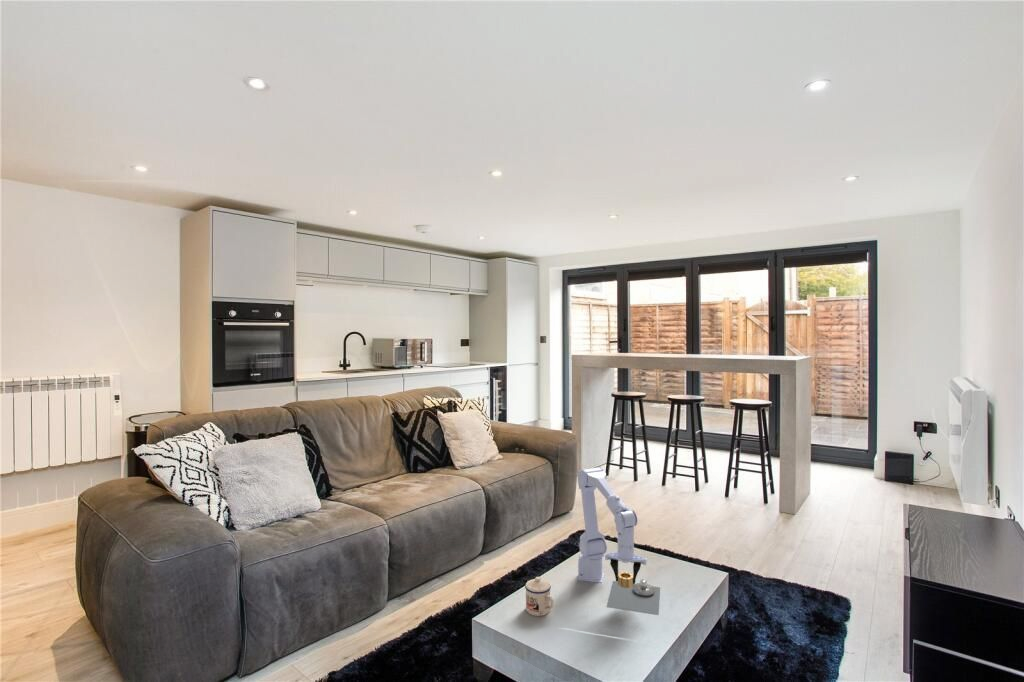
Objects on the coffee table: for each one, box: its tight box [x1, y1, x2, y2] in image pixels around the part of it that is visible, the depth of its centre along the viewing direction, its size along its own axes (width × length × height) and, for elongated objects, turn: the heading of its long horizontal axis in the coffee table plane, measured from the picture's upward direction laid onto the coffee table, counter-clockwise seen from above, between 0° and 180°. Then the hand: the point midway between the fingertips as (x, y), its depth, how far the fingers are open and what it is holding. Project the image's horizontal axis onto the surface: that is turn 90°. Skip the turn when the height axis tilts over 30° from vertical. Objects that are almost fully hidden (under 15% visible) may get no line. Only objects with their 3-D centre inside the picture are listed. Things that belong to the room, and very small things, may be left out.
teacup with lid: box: [524, 576, 555, 617], centre depth 186 cm, size 12×9×12 cm
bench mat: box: [606, 580, 661, 616], centre depth 195 cm, size 18×20×1 cm
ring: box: [618, 571, 633, 588], centre depth 189 cm, size 5×5×3 cm
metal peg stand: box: [633, 579, 655, 597], centre depth 199 cm, size 8×8×4 cm
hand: (625, 581), depth 190 cm, fingers closed on ring, 5 cm apart
